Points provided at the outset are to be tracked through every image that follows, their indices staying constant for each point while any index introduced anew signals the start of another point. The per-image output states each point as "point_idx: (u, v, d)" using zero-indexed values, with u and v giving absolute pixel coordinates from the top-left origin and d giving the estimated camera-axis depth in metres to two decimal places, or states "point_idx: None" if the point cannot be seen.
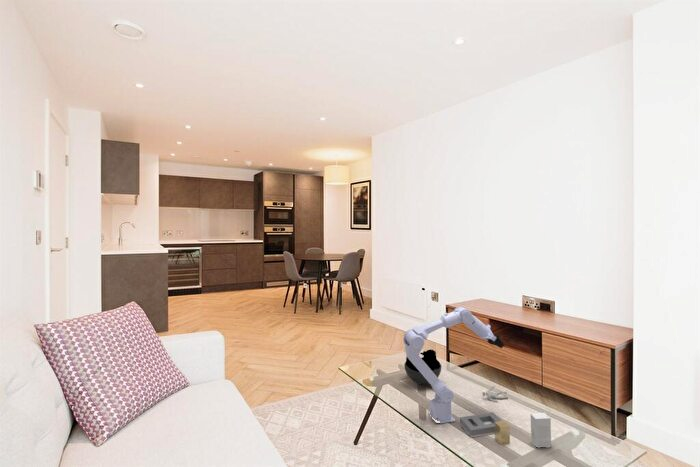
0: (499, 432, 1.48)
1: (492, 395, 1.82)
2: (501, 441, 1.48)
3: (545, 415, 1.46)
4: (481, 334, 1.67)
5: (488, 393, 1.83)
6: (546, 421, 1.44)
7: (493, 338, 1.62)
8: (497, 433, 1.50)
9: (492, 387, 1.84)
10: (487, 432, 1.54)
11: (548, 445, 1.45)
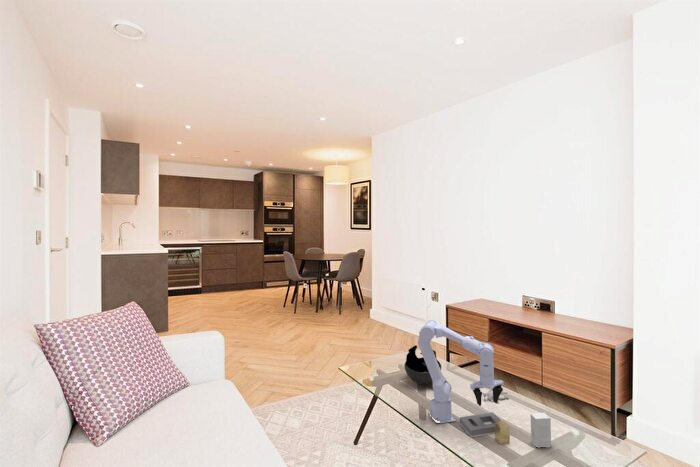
0: (499, 432, 1.48)
1: None
2: (501, 441, 1.48)
3: (545, 415, 1.46)
4: None
5: (489, 394, 1.82)
6: (546, 421, 1.44)
7: (471, 386, 1.58)
8: (497, 433, 1.50)
9: None
10: (487, 432, 1.54)
11: (548, 445, 1.45)
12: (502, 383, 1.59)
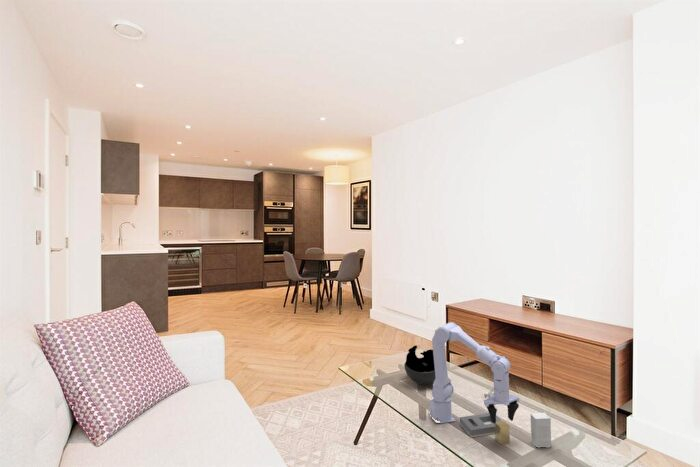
0: (499, 432, 1.48)
1: None
2: (501, 441, 1.48)
3: (545, 415, 1.46)
4: None
5: (490, 395, 1.81)
6: (546, 421, 1.44)
7: (485, 402, 1.48)
8: (497, 433, 1.50)
9: (493, 388, 1.83)
10: (487, 432, 1.54)
11: (548, 445, 1.45)
12: (518, 399, 1.49)
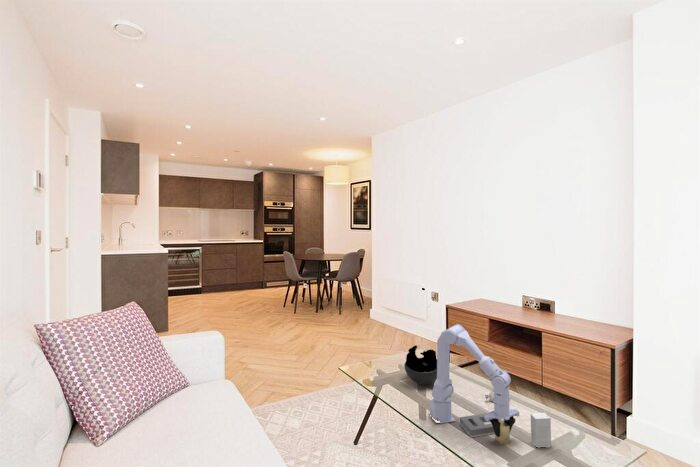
0: None
1: None
2: (501, 441, 1.48)
3: (545, 415, 1.46)
4: None
5: (491, 395, 1.80)
6: (546, 421, 1.44)
7: (485, 417, 1.49)
8: None
9: None
10: (487, 432, 1.54)
11: (548, 445, 1.45)
12: (518, 413, 1.50)
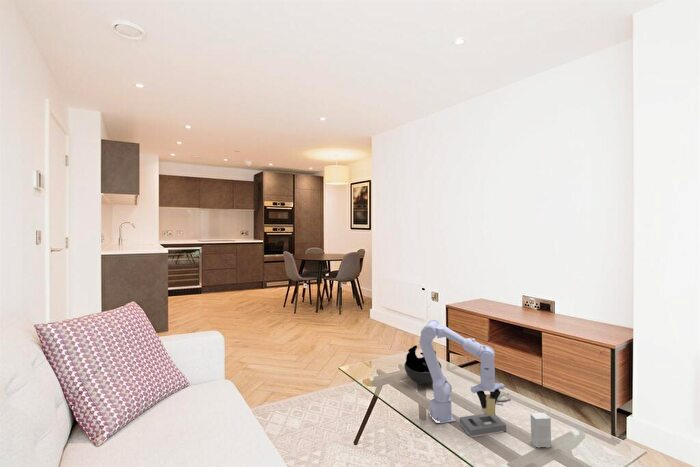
0: (486, 404, 1.57)
1: None
2: (487, 413, 1.56)
3: (545, 415, 1.46)
4: None
5: None
6: (546, 421, 1.44)
7: (471, 389, 1.57)
8: None
9: None
10: (487, 432, 1.54)
11: (548, 445, 1.45)
12: (503, 386, 1.58)
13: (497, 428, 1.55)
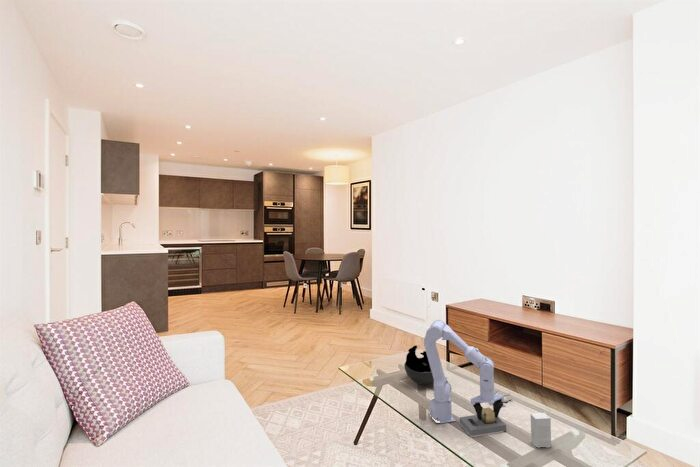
0: (485, 417, 1.58)
1: None
2: None
3: (545, 415, 1.46)
4: None
5: None
6: (546, 421, 1.44)
7: (471, 401, 1.58)
8: (483, 419, 1.59)
9: (496, 391, 1.80)
10: (487, 432, 1.54)
11: (548, 445, 1.45)
12: (502, 398, 1.59)
13: (497, 428, 1.55)
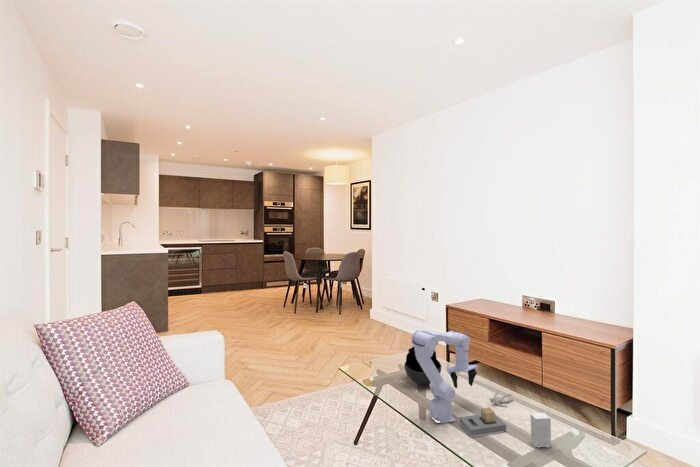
0: (485, 417, 1.58)
1: (499, 400, 1.77)
2: None
3: (545, 415, 1.46)
4: None
5: (496, 398, 1.77)
6: (546, 421, 1.44)
7: (447, 370, 1.74)
8: (483, 419, 1.59)
9: (498, 391, 1.80)
10: (487, 432, 1.54)
11: (548, 445, 1.45)
12: (476, 367, 1.75)
13: (497, 428, 1.55)
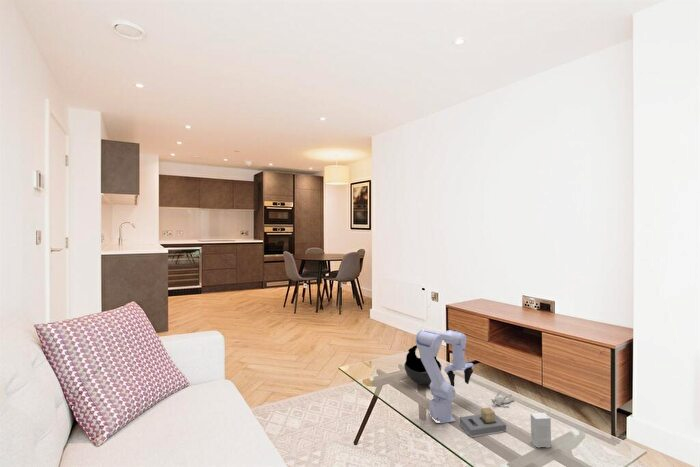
0: (485, 417, 1.58)
1: (501, 401, 1.77)
2: None
3: (545, 415, 1.46)
4: None
5: (497, 399, 1.76)
6: (546, 421, 1.44)
7: (445, 369, 1.76)
8: (483, 419, 1.59)
9: (499, 392, 1.79)
10: (487, 432, 1.54)
11: (548, 445, 1.45)
12: (472, 365, 1.78)
13: (497, 428, 1.55)
